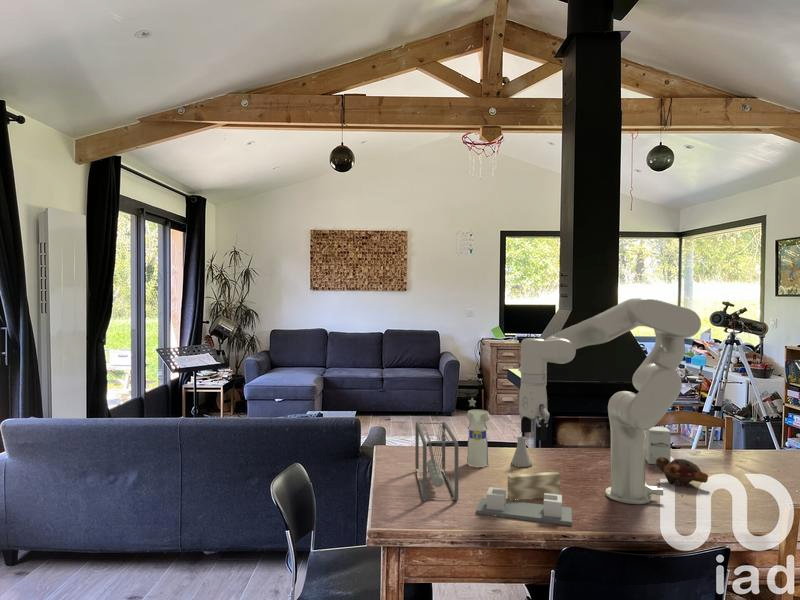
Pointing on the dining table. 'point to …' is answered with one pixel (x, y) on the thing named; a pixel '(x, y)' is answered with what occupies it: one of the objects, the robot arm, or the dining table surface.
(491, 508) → the frame
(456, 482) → the newton's cradle
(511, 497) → the slat
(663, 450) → the supplement box
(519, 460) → the flask
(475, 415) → the water bottle
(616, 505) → the dining table surface
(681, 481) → the decorative turtle
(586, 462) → the dining table surface
